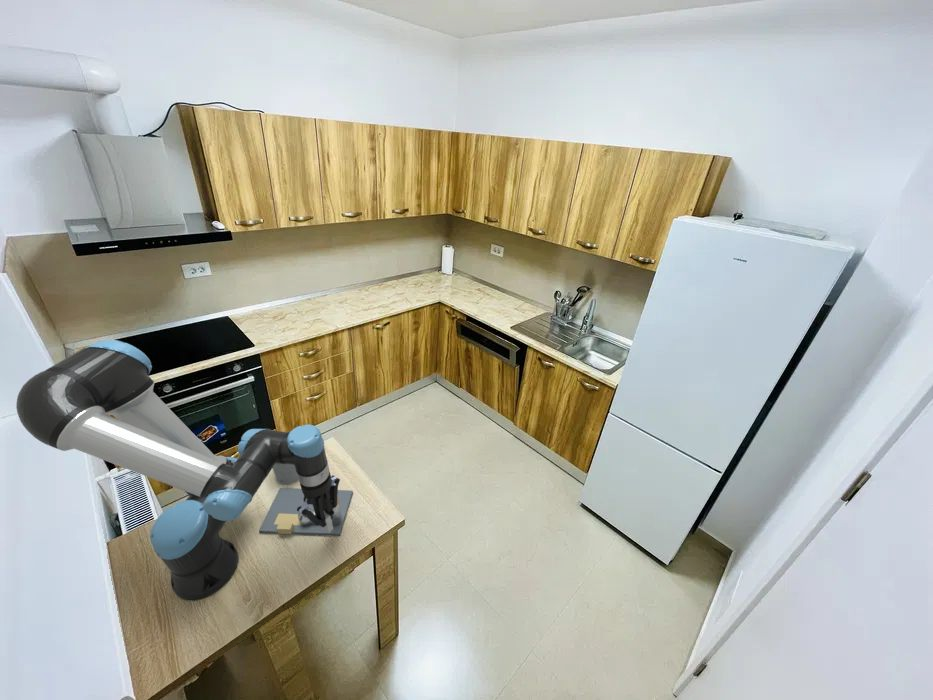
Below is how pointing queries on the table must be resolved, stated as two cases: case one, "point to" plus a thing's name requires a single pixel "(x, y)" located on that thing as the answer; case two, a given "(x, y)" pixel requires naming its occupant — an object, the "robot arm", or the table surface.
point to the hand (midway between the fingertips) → (328, 528)
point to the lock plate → (286, 515)
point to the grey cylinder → (285, 473)
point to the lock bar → (335, 520)
